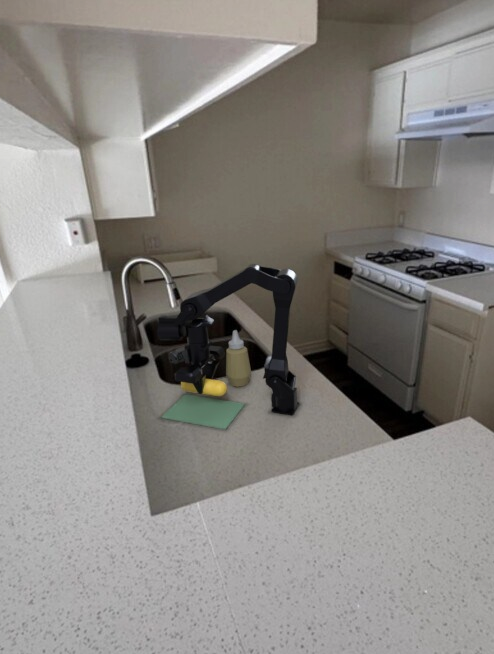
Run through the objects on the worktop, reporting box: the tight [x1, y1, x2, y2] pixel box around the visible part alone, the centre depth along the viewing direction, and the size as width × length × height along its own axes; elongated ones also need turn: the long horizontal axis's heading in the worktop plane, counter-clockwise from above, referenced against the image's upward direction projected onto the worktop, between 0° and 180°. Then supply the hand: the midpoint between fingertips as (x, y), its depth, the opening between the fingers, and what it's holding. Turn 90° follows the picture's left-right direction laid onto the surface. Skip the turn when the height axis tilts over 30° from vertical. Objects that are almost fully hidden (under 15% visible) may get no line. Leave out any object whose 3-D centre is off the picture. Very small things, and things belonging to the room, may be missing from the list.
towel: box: [161, 393, 246, 431], centre depth 120 cm, size 20×13×1 cm, turn 70°
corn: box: [180, 379, 228, 397], centre depth 120 cm, size 14×4×4 cm, turn 70°
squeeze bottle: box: [225, 329, 252, 388], centre depth 131 cm, size 8×8×18 cm
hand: (204, 389), depth 121 cm, fingers closed on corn, 4 cm apart
